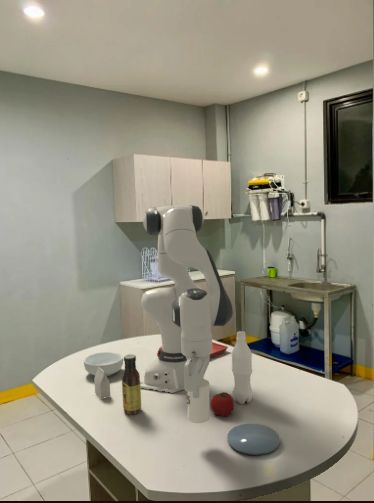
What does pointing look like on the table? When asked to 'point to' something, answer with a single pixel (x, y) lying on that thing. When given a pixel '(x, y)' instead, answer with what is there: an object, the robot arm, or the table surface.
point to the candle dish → (253, 439)
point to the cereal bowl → (104, 362)
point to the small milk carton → (101, 384)
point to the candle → (199, 404)
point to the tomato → (222, 404)
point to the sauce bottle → (131, 386)
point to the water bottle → (242, 369)
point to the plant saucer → (217, 349)
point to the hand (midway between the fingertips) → (198, 392)
